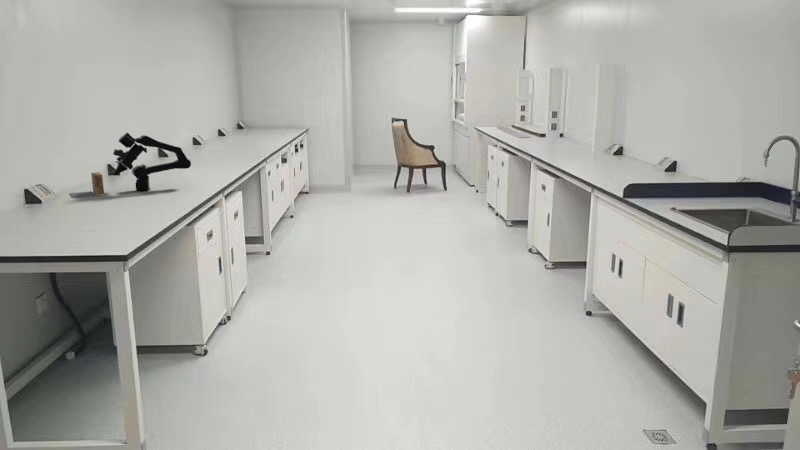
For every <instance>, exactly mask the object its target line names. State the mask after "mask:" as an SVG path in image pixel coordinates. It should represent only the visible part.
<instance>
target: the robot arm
mask: <svg viewBox="0 0 800 450" xmlns="http://www.w3.org/2000/svg"><path fill="white" fill-rule="evenodd" d="M118 142H119V143H120V144H121V145H122V146H123V147H125V148H127V149H128V148H129V150H127V151H125V152H124V150H123V149H116V148H115V149H114V150H113V153H112V154H113V155H114V156H116V157H117V158H116V160H117V161H116V162H117V166H116V168H115V170H114V172H113V174H114V175H115V176H116V175H118V174H121V173H122V172H125V171H128V170H131V174H132V175H133V176H134V177H135V178H136V180H135V181H136V182H135V192H148V191H150V190H151V187H150V176H149V175H150V174H151V175H152V174H155V173H159V172H164V171H165V172H166V171H170V170H175V169H176V170H177V169H181V170H182V169H189V168H191V166H192V162H191V160H190V159H188V158H187V156H186V154H185V152H183V149H182V148H181V147H179V146H175V145H172V144H169V143H164V142H161V141H159V140H156V139H154V138H152V137H150V136H148V135H145V134H143V135H140V137H135V138H134V137H133V136H132V135H130V133H129V132H126V133H125V134H123V135H122V136H120V138H119V139H118ZM147 147H149V148H158V149H161V150H165V151H168V152H172V153H173V154H175V156H176V158H177V159H176V160H174V161H171V162H166V163H162V164H161V163H160V164H155V165H149V166H146V165H145V164H141V165H135V166H134V164H133V162H135V160H138V158H139V157H140V155H141V154H142V153H143V152H144V153H146V154H147V153H148V149H147Z"/></svg>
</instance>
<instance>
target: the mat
mask: <svg viewBox="0 0 800 450" xmlns="http://www.w3.org/2000/svg"><path fill="white" fill-rule="evenodd" d="M69 195H70V196H71V198H86V197H87V198H88V197H95V196H96V195H95V194H94V193H93V190H91V191H82V192H80V191H78V192H69Z"/></svg>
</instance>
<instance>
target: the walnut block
mask: <svg viewBox="0 0 800 450" xmlns="http://www.w3.org/2000/svg"><path fill="white" fill-rule="evenodd" d="M91 182H92V192H93V193H94V194H95V196H96V197H97V196H105V190H104V180H103V174H102V173H100V171H99V172H97V171H96V172H91Z"/></svg>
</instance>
